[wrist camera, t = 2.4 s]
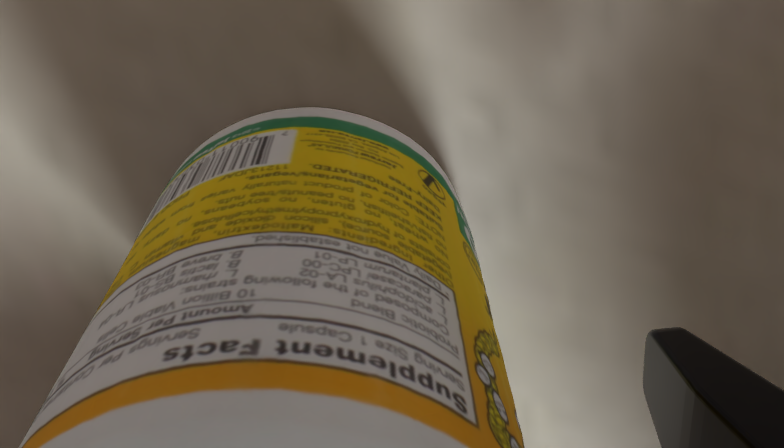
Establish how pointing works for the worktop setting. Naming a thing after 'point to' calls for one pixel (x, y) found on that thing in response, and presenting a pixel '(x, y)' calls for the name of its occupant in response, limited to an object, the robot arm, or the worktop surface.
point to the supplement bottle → (293, 305)
